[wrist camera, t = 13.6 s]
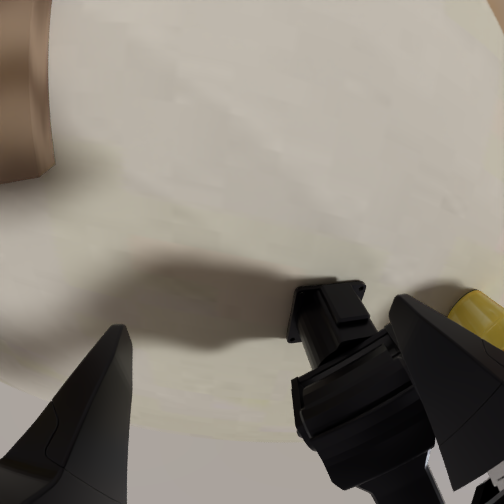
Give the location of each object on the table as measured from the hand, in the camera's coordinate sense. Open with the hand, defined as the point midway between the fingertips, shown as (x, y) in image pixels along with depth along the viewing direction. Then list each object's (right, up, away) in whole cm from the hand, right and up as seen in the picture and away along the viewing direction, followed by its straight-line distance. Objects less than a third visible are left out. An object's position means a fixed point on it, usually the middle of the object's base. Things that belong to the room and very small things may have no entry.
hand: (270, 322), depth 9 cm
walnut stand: (-19, +13, +2) cm, 23 cm away
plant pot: (+27, -5, +24) cm, 36 cm away
